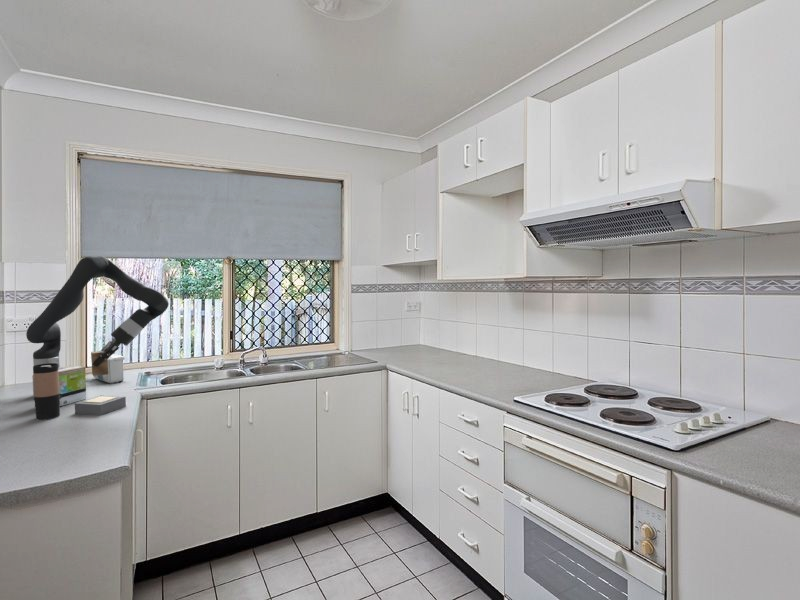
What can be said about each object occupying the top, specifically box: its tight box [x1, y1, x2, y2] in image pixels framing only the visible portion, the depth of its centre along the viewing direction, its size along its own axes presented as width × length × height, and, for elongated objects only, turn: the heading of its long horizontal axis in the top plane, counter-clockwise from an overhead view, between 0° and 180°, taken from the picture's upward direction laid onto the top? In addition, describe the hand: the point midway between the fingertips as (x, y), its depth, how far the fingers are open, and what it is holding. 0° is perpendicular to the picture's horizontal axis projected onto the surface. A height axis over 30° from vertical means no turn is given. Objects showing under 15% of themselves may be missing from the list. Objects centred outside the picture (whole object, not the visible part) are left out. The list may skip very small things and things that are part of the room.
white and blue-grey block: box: [92, 353, 126, 384], centre depth 232 cm, size 21×8×20 cm, turn 53°
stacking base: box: [74, 394, 127, 416], centre depth 180 cm, size 12×12×4 cm
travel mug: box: [32, 363, 61, 421], centre depth 171 cm, size 8×8×20 cm
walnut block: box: [90, 350, 108, 376], centre depth 179 cm, size 5×5×9 cm
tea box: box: [58, 365, 87, 407], centre depth 190 cm, size 15×10×15 cm
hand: (94, 364), depth 178 cm, fingers closed on walnut block, 5 cm apart
